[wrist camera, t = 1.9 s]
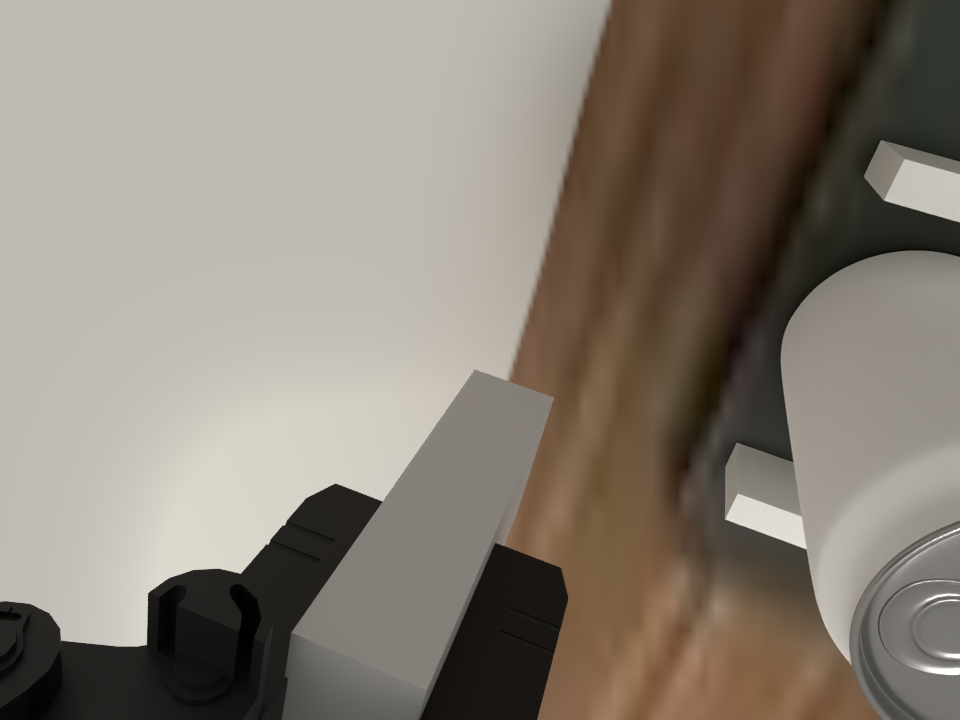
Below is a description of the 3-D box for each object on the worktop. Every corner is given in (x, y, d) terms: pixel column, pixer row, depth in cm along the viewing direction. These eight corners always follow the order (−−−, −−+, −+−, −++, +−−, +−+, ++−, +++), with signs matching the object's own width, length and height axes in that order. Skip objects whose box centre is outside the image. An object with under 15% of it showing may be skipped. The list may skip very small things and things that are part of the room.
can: (791, 241, 21) (853, 456, 11) (1055, 248, 20) (1429, 514, 9) (767, 436, 24) (798, 760, 14) (998, 459, 22) (1238, 851, 12)
